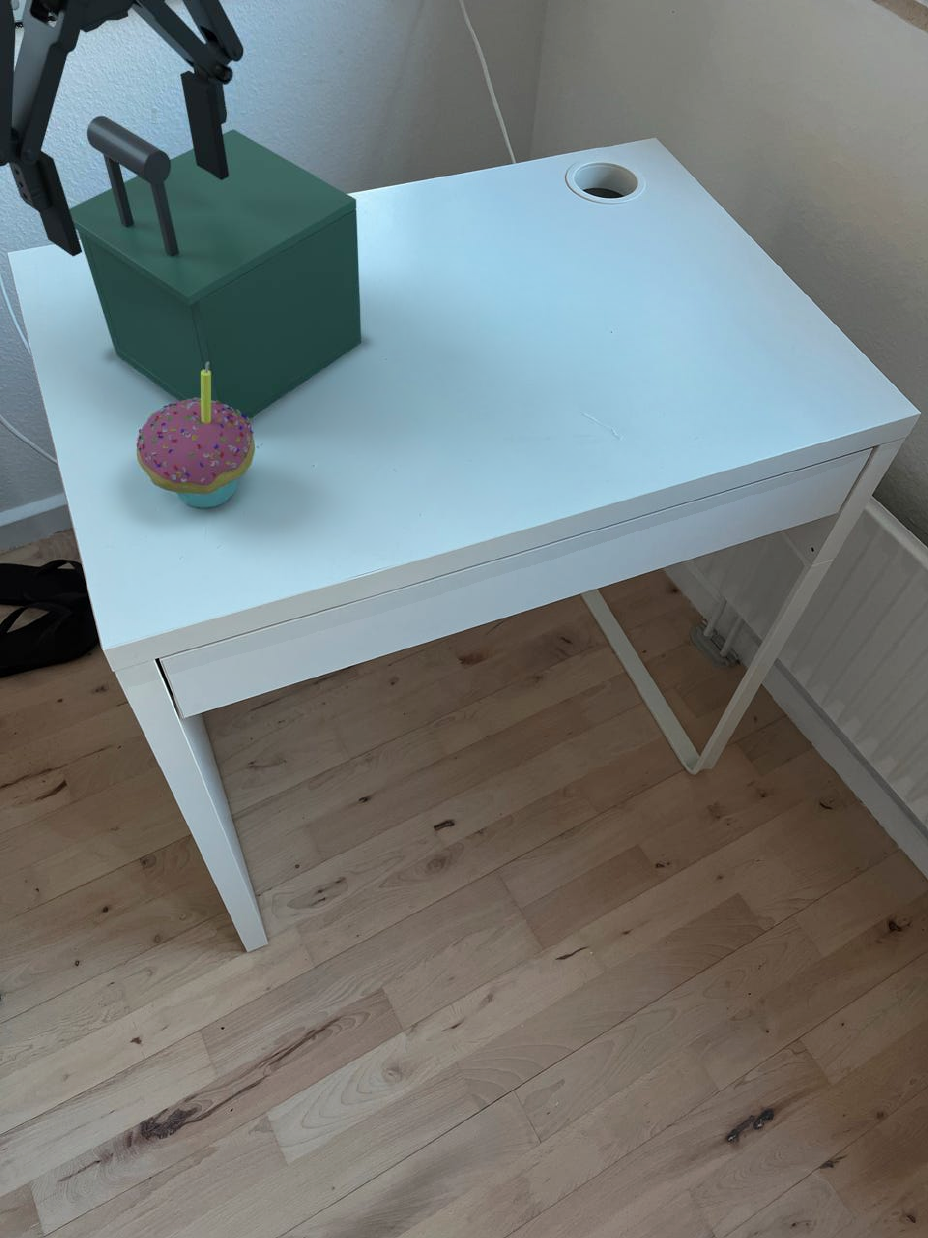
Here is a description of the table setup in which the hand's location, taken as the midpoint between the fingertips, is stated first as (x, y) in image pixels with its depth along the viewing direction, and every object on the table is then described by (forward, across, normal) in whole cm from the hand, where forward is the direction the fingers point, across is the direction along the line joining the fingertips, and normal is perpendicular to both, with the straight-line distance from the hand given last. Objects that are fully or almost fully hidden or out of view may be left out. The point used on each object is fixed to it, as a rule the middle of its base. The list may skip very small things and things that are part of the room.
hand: (142, 206), depth 66 cm
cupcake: (+16, -6, -10) cm, 20 cm away
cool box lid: (+3, +6, 0) cm, 7 cm away
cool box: (+16, +6, 0) cm, 18 cm away
